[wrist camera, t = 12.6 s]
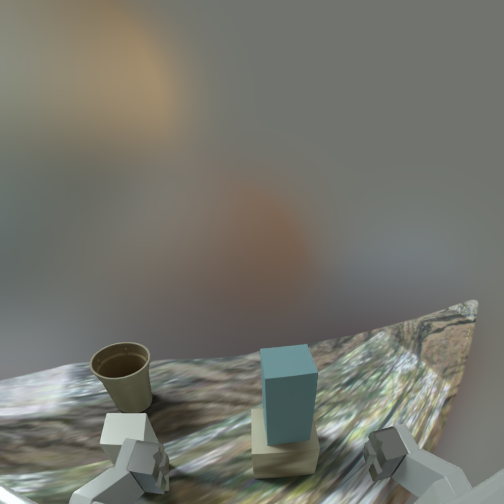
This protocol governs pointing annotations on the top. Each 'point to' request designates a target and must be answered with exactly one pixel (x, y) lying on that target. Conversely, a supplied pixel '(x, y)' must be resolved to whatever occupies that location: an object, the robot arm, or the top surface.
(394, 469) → the robot arm
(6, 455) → the top surface
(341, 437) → the top surface
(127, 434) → the white block
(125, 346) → the flower pot
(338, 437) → the top surface
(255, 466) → the birch block
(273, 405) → the teal block
